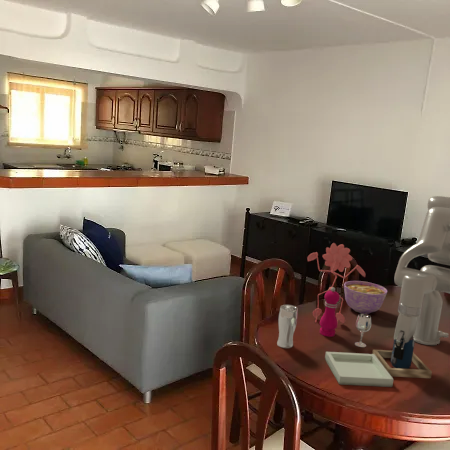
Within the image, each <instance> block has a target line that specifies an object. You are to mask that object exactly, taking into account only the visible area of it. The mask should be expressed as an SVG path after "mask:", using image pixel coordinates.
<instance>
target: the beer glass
mask: <svg viewBox="0 0 450 450" xmlns="http://www.w3.org/2000/svg"><path fill="white" fill-rule="evenodd" d="M298 312H299V311H298V307H297V306H295V305H292V304H283V305H280V307H279V313H278V321H277V322H278V332H279V333H278V339H277V342H276V344H277V346H278V347H280V348H283V349H291V348H293V347H294V333H295V330H296V327H297V322H298Z"/></svg>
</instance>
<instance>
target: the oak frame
mask: <svg viewBox="0 0 450 450" xmlns="http://www.w3.org/2000/svg"><path fill="white" fill-rule="evenodd" d="M371 354H374V355H375V356H376V357H377V359H378V360H379V361H380V362H381V364H382V365H383V366H384V368H385V369H386V370H387V371H388V373H389V374H390V375H391V377H401V378H413V379H414V378H418V379H431V378H432V372H433V371H432V370H431V369H430V368H429V367H428V366H427V365H426V364H425V363H424V362H423V361H422V360H421V359H420V358H419V357H418V356H417V355H416V354H415V352H413V356H412V362H411V363H413V365H414V366H415V367H416V368H417V369H416V368H409V369H401V368H394V367H391V366H390V365H389V364H388V363H387V362H386V360H385V359H391V356H392V350H391V349H390V350H387V349H386V350H385V349H384V350H383V349H372V353H371Z"/></svg>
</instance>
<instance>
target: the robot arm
mask: <svg viewBox="0 0 450 450" xmlns="http://www.w3.org/2000/svg"><path fill="white" fill-rule="evenodd" d="M423 255H427V258H428V260H429V261H431V262H432V263H433V262H434V263H437V264H441V265H446V266H450V197H449V196H443V195H441V196H440V195H435V196H432V197H430V198H429V199H428V201H427V212H426V214H425V218H424V221H423V225H422V228H421V232H420V234H419V238H418V241H417V242H416V243H415V244H413V245H411V246H410V247H409V248H407V250H405V251H404V252H403V253H402V254H401V256H400V257H399V260H398V262H397V263H398V264H397V267H396V270H395V273H394V284H395V285H396V286H398V287H399V288H401V289H400V296H399V303H398V307H397V313H398V317H397V320H396V325H395V329H394V335H393V341H394V340H396V343H395V349H394V355H393V357H394V358H397V359H400V360H402V359H403V355H404V346H405V343H407V342H409V340H410V339H411V338H412V337H414V342H415V343H418V344H422V345H425V346H438V345H439V344H440V343H441V339H440V338H449V335H450V334H449V333H448V332H443V331H442V330H439V325H440V320H441V315H442V308H443V297H442V295H441V294H440V292H442V293H443V292H444V293H447V294H450V268H447V267H443V266H439V265H432V264H428V265H424V266H422V267H421V268H420V270H419V269H415V268H410V267H408V265H409V263H410V262H411V261H412V260H413V259H414V258H417V257H420V256H423ZM401 339H403V340H401ZM401 342H402V343H403V344H402V343H401ZM437 344H438V345H437Z"/></svg>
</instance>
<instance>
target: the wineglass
mask: <svg viewBox="0 0 450 450" xmlns="http://www.w3.org/2000/svg"><path fill="white" fill-rule="evenodd" d="M371 327H372V317H371V315H369V314H363V313H359V314H358V315H357V318H356V321H355V328H356V329H357V331H359V332H360V339H359V341H356V342H354V345H355V346H356V347H360V348H365V347H367V345H366V343H364V342H362V341H363V337H364V333H366V332H369V331H370V329H371Z"/></svg>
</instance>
